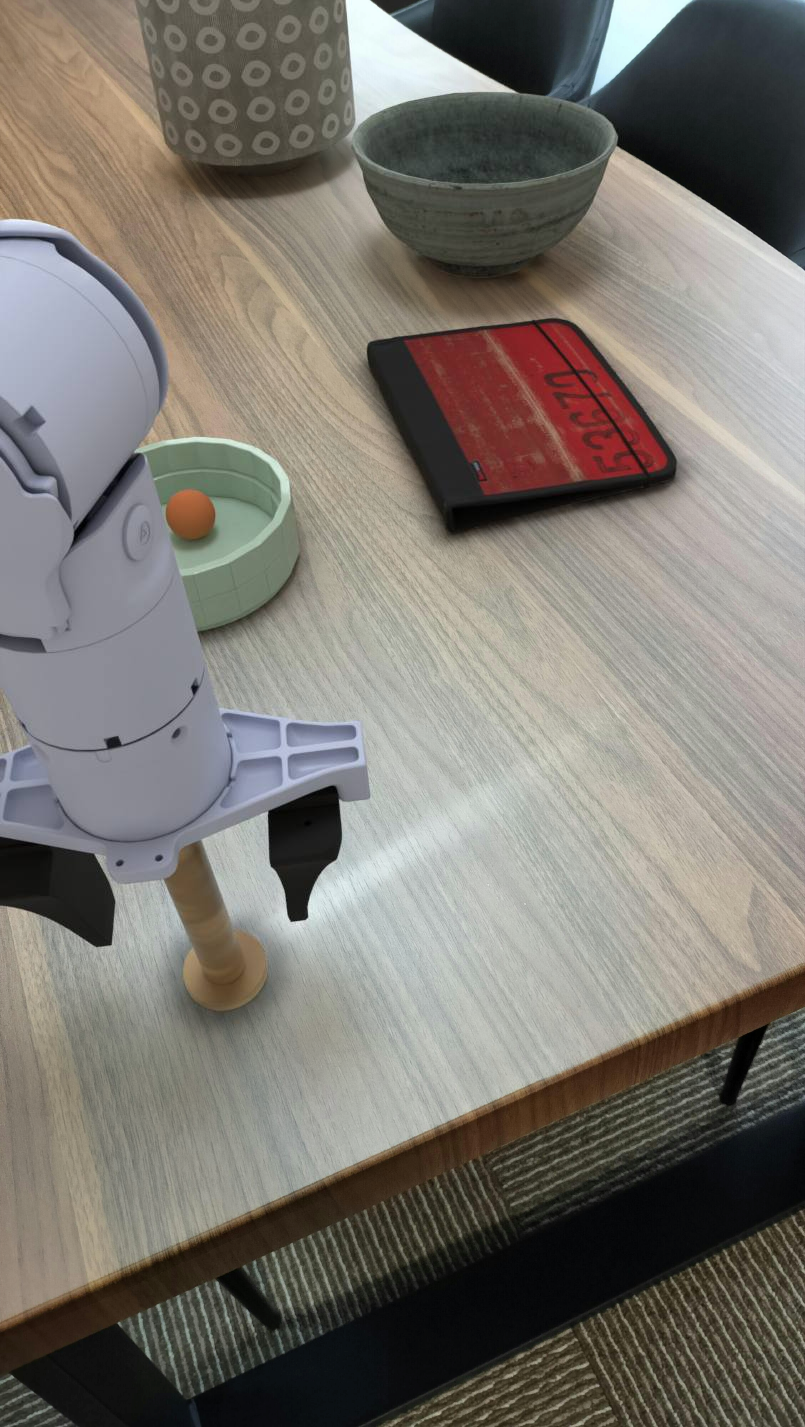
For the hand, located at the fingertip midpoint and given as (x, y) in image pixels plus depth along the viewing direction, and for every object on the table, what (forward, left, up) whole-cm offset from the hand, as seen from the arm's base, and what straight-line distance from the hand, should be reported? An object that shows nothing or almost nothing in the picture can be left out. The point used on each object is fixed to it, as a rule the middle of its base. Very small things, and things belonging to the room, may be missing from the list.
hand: (202, 911), depth 41 cm
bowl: (+22, +64, -5) cm, 68 cm away
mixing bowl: (-2, +28, -5) cm, 29 cm away
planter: (+4, +90, -5) cm, 90 cm away
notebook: (+20, +39, -5) cm, 44 cm away
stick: (0, 0, -5) cm, 5 cm away
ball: (-2, +30, -3) cm, 30 cm away
